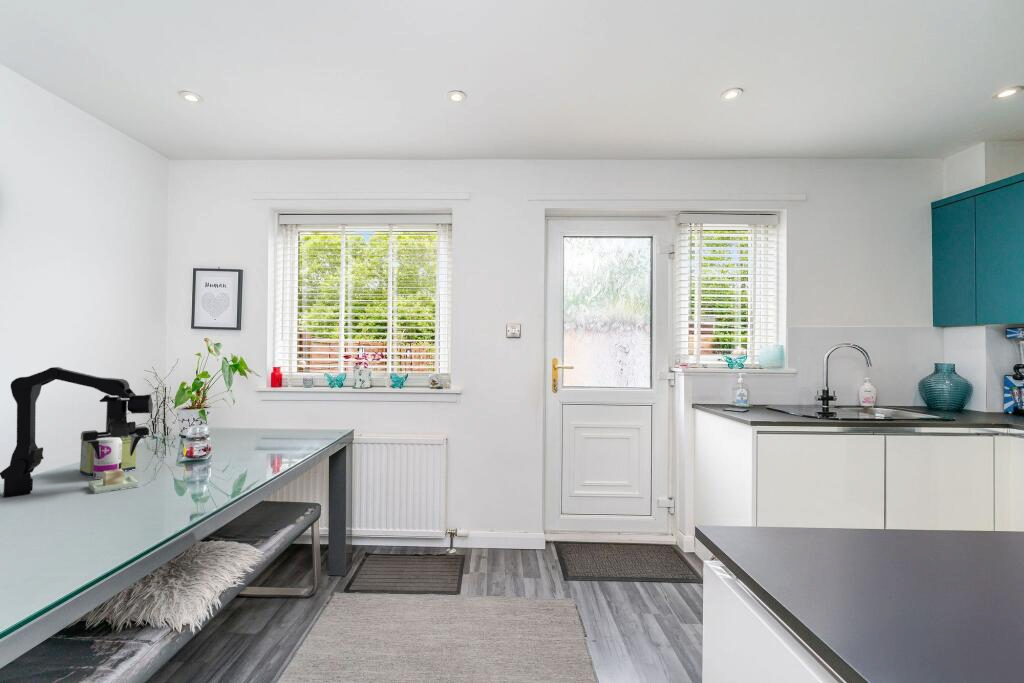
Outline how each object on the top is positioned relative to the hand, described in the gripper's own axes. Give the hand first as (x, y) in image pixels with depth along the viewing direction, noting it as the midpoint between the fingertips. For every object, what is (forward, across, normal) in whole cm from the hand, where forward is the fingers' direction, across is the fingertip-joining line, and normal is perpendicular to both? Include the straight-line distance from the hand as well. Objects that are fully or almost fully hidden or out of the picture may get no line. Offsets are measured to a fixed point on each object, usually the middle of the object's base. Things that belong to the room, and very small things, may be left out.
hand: (115, 457), depth 177 cm
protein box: (+11, +3, +29) cm, 31 cm away
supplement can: (+11, +1, +18) cm, 21 cm away
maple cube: (+10, 0, 0) cm, 10 cm away
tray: (+11, 0, 0) cm, 11 cm away
